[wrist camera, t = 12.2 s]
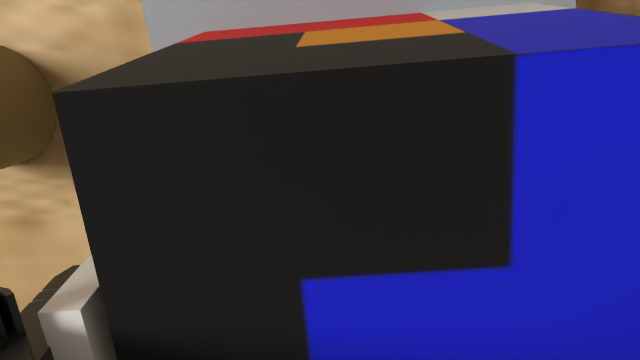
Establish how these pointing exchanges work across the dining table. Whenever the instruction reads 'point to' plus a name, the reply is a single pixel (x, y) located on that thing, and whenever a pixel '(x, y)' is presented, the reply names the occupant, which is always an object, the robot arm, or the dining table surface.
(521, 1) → the grey top slab
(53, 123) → the cork
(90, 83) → the puzzle toy
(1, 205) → the dining table surface
